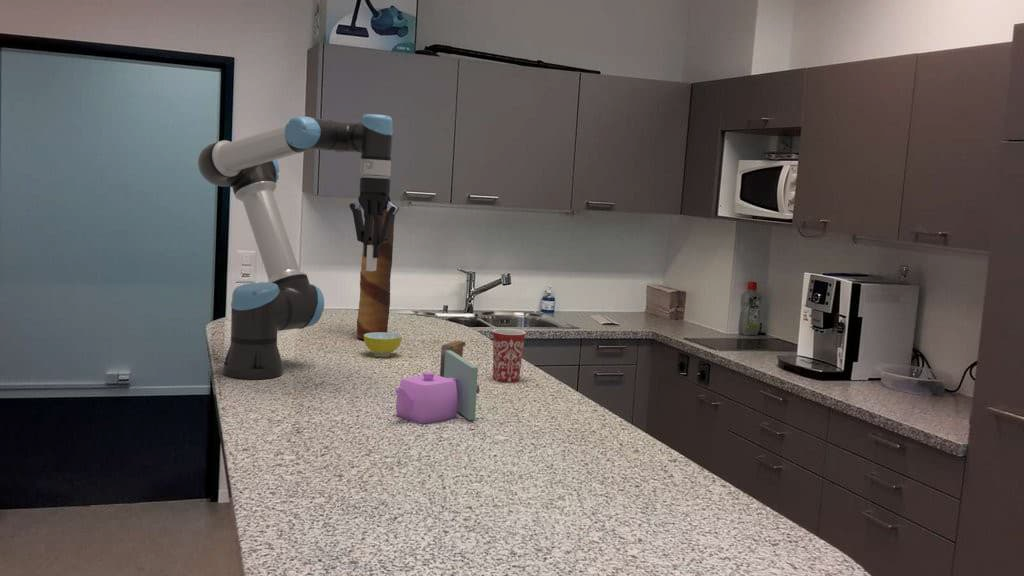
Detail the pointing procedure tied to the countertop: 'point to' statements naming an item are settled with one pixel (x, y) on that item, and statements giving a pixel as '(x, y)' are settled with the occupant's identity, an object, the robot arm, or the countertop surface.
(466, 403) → the door
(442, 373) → the doorframe
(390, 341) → the bowl
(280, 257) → the robot arm
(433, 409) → the teapot
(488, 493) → the countertop surface
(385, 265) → the wafer roll
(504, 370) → the mug
